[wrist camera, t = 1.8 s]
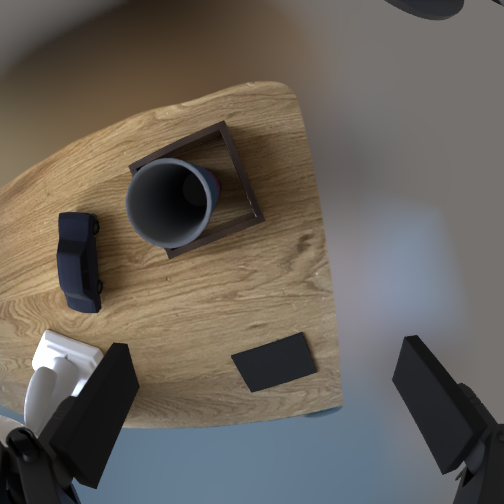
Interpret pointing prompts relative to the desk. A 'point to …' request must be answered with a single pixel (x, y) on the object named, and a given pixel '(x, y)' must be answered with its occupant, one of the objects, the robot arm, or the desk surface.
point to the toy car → (79, 261)
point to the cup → (171, 201)
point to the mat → (275, 363)
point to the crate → (258, 214)
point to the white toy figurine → (53, 380)
